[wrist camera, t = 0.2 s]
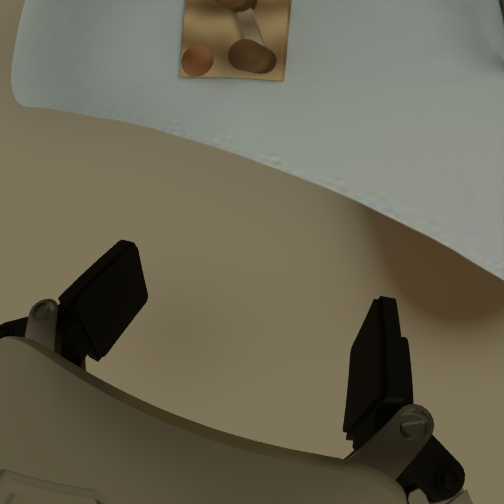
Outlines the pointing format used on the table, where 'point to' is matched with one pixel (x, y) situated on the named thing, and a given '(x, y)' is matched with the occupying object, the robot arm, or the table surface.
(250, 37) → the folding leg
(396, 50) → the table surface
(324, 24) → the table surface
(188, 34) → the stool seat
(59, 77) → the table surface
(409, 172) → the table surface
